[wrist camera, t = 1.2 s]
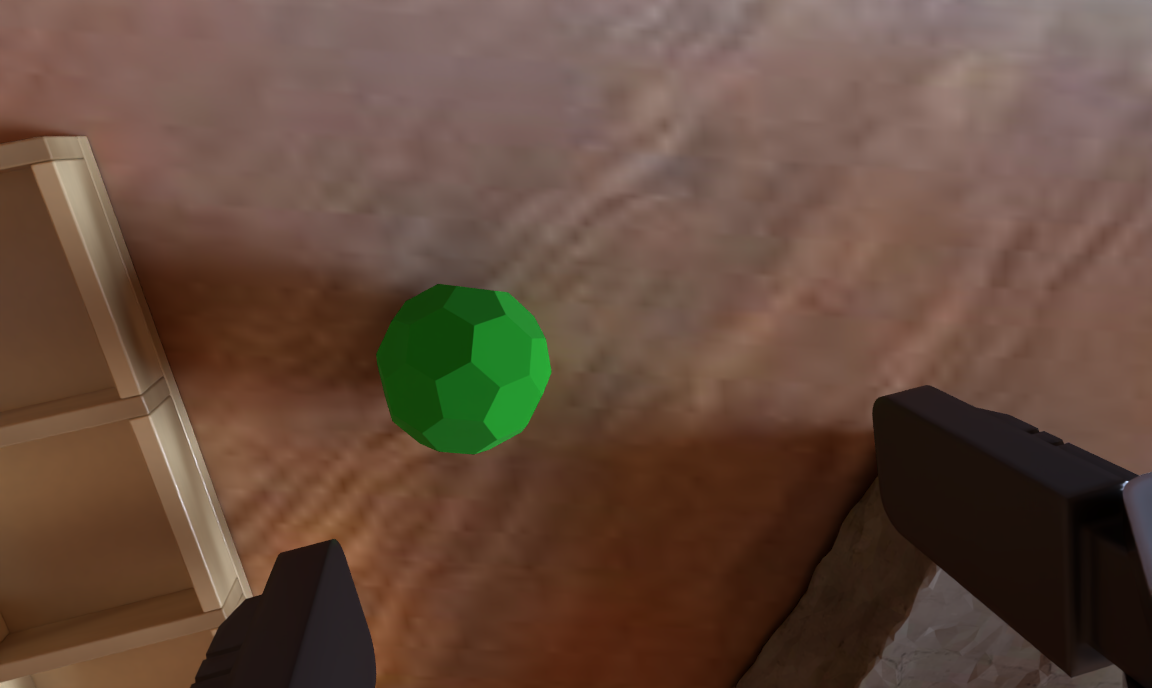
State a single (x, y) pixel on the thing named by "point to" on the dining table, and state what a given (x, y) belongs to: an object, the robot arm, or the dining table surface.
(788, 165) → the dining table surface
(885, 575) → the marble piece
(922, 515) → the robot arm
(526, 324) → the polyhedron
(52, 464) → the compartment tray
